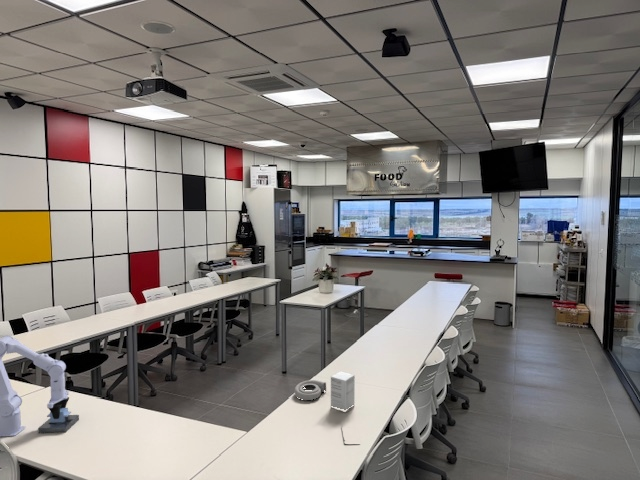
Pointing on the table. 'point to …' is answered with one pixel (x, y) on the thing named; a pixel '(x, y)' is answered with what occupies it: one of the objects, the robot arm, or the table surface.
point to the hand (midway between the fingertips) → (59, 416)
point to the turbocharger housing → (310, 385)
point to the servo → (60, 416)
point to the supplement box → (342, 390)
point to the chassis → (58, 425)
